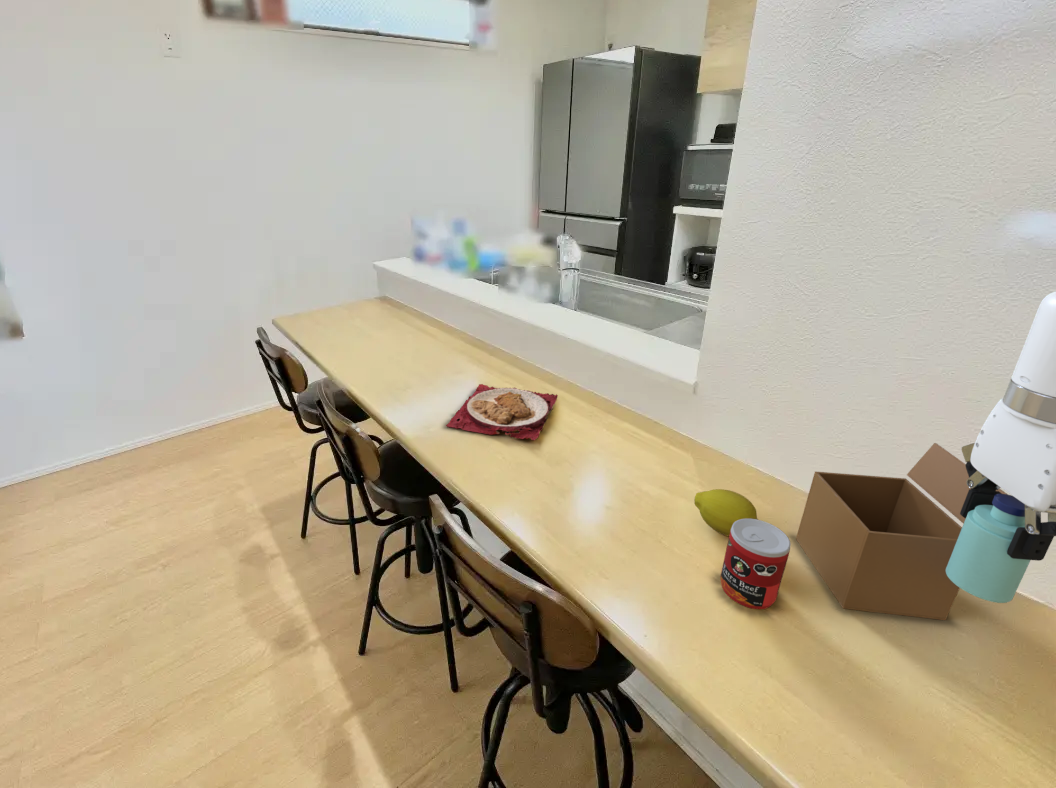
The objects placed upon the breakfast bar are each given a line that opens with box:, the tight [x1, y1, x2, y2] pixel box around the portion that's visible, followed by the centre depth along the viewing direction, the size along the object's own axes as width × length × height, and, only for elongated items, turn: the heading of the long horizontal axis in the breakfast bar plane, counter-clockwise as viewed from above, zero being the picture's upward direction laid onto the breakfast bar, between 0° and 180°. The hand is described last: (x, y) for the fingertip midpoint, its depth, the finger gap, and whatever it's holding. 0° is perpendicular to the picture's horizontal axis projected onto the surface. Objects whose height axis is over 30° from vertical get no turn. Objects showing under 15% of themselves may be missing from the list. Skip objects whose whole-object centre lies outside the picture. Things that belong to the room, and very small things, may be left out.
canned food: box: [719, 518, 791, 610], centre depth 76 cm, size 8×8×11 cm
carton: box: [795, 471, 963, 621], centre depth 78 cm, size 14×15×14 cm
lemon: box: [694, 488, 759, 537], centre depth 90 cm, size 11×8×8 cm
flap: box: [906, 442, 1009, 525], centre depth 73 cm, size 7×15×1 cm
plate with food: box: [445, 383, 559, 441], centre depth 133 cm, size 24×26×4 cm
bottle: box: [946, 493, 1032, 604], centre depth 60 cm, size 6×6×12 cm
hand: (998, 535), depth 60 cm, fingers closed on bottle, 6 cm apart
